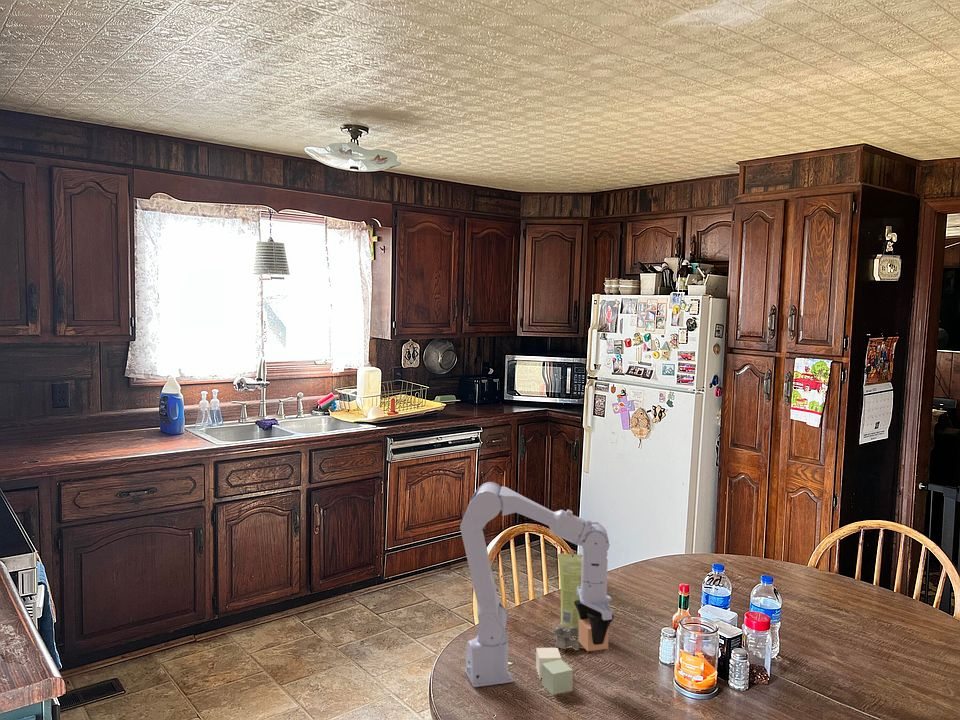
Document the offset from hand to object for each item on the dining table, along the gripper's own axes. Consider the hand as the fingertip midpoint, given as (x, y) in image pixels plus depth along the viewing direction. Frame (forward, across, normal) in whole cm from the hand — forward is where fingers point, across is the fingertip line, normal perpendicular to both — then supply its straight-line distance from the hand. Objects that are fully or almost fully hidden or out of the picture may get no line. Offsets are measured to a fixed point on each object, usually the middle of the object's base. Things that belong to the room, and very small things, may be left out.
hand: (592, 638), depth 162 cm
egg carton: (+11, +19, -4) cm, 22 cm away
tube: (+11, +28, -7) cm, 31 cm away
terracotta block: (+2, 0, 0) cm, 2 cm away
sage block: (+10, 0, +8) cm, 14 cm away
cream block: (+10, +6, +8) cm, 15 cm away
